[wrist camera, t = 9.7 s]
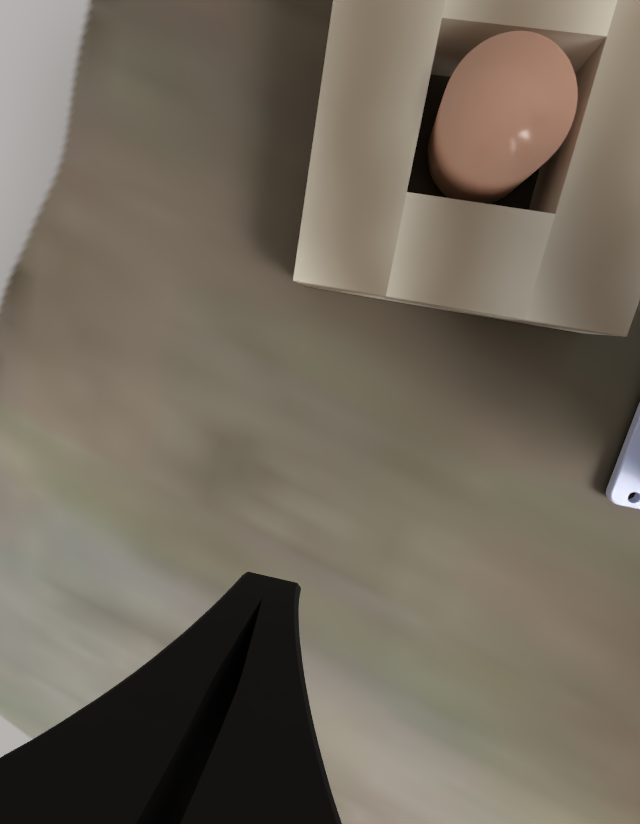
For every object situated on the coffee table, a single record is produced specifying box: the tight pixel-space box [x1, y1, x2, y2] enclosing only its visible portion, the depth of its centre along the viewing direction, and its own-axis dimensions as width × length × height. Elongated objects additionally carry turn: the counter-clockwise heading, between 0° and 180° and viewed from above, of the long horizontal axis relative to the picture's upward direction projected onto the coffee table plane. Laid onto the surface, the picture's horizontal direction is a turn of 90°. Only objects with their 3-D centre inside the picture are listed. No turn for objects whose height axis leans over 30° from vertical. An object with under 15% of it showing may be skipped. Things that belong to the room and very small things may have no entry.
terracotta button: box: [427, 31, 578, 204], centre depth 14 cm, size 4×4×3 cm
